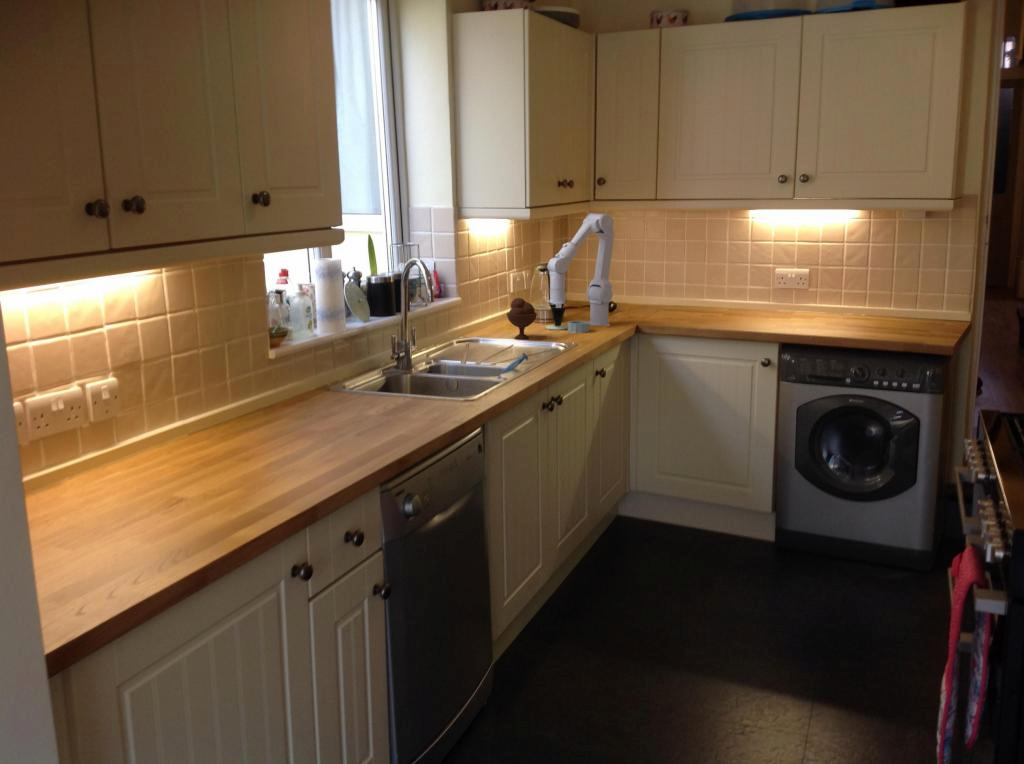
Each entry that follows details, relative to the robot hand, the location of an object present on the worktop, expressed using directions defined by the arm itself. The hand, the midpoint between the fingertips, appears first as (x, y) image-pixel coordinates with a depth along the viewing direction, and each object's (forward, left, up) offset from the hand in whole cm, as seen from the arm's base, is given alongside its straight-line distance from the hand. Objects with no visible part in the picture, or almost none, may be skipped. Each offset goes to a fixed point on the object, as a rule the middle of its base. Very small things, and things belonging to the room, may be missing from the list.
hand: (557, 324), depth 375 cm
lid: (0, 0, -2) cm, 2 cm away
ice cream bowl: (+19, -14, -2) cm, 24 cm away
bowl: (+7, +8, -2) cm, 11 cm away
